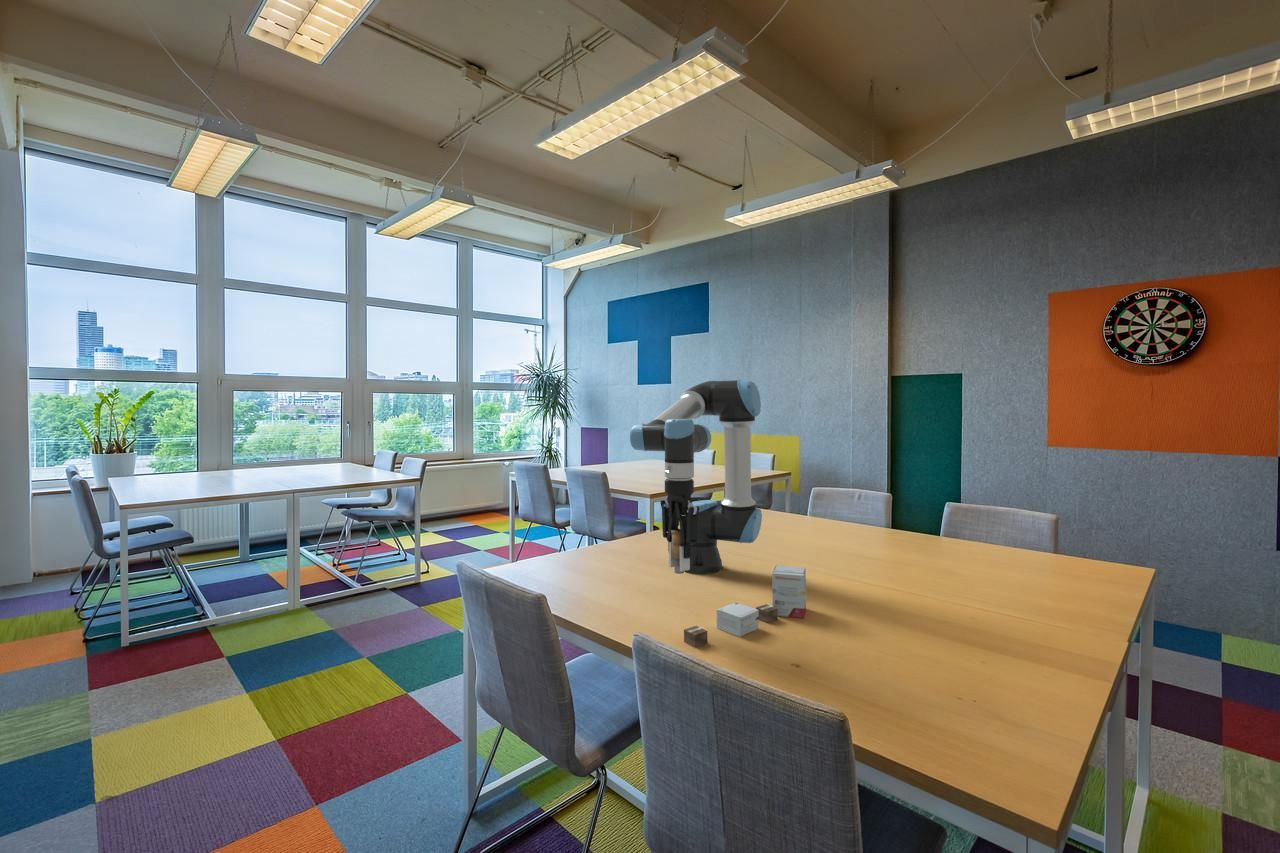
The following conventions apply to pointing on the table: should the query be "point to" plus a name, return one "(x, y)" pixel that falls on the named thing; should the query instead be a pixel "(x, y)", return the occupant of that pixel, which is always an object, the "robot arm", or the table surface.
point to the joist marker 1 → (695, 636)
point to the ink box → (789, 591)
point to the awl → (676, 549)
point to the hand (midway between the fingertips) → (679, 568)
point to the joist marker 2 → (767, 613)
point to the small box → (737, 619)
